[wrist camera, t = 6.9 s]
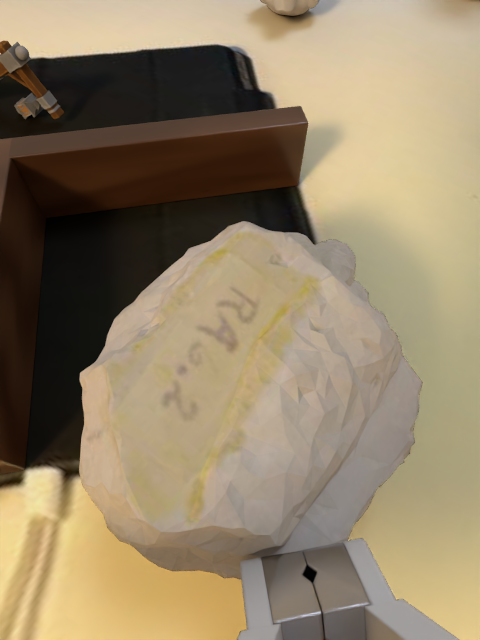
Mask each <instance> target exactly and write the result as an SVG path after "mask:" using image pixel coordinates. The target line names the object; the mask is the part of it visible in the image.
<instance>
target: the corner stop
mask: <svg viewBox="0 0 480 640" xmlns="http://www.w3.org/2000/svg"><path fill="white" fill-rule="evenodd" d="M307 128H308V121H307V119H306V117H305V114H304V112H303V110H302V108H301V106H297V107H288V108H279V109H270V110H261V111H252V112H243V113H234V114H225V115H216V116H207V117H198V118H189V119H180V120H171V121H162V122H153V123H144V124H135V125H126V126H117V127H108V128H99V129H90V130H81V131H72V132H63V133H54V134H45V135H36V136H26V137H17V138H8V139H0V475H1V474H7V473H12V472H17V471H23V470H25V464H26V452H27V441H28V429H29V417H30V405H31V393H32V382H33V370H34V358H35V346H36V335H37V323H38V311H39V299H40V287H41V276H42V264H43V252H44V240H45V229H46V218H51V217H59V216H66V215H74V214H82V213H90V212H97V211H105V210H113V209H120V208H128V207H136V206H143V205H151V204H159V203H167V202H174V201H182V200H190V199H197V198H205V197H213V196H220V195H228V194H236V193H243V192H251V191H259V190H267V189H274V188H282V187H290V186H297V185H298V183H299V177H300V171H301V165H302V159H303V152H304V146H305V140H306V134H307Z"/></svg>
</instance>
